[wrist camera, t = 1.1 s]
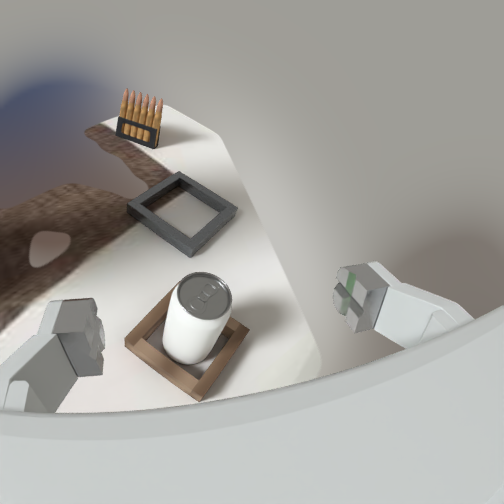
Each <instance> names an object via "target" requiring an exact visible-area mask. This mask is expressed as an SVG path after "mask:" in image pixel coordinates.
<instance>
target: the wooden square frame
mask: <svg viewBox="0 0 504 504" xmlns="http://www.w3.org/2000/svg"><path fill="white" fill-rule="evenodd" d="M179 283H180V281H179V282H178V283H177V284H176V285H175V286H174V287H173V289H172V290H171V291H170V292H169V293H168V294H167V295H166V296H165V297H164V298H163V299H162V300H161V301H160V302H159V303H158V304H157V305H156V306H155V307H154V308H153V309H152V310H151V311H150V312H149V313H148V314H147V315H146V316H145V317H144V318H143V319H142V320H141V321H140V323H139V324H138V325H137V326H136V327H135V328H134V329H133V330H132V331H131V332H130V333H129V334H128V335H127V336H126V337H125V338H124V339H125V347H126V348H128V349H129V350H130V351H131V352H132V353H134V354H135V355H136V356H137V357H139V358H140V359H141V360H142V361H144V362H145V363H146V364H148V365H149V366H150V367H151V368H153V369H154V370H155V371H157V372H158V373H159V374H161V375H162V376H163V377H165V378H166V379H167V380H169V381H170V382H171V383H173V384H174V385H175V386H177V387H178V388H180V389H181V390H182V391H184V392H185V393H187V394H188V395H190V396H191V397H193V398H194V399H195V400H197V401H198V402H200V400H201V399H202V398H203V397H204V395H205V394H206V392H207V391H208V390H209V388H210V387H211V385H212V384H213V383H214V381H215V380H216V378H217V377H218V375H219V374H220V373H221V371H222V370H223V368H224V367H225V365H226V364H227V362H228V361H229V360H230V358H231V357H232V355H233V354H234V352H235V351H236V349H237V348H238V346H239V345H240V343H241V342H242V341H243V339H244V338H245V336H246V335H247V333H248V332H249V330H250V329H248V328H247V327H245V326H244V325H242V324H241V323H239V322H238V321H236V320H235V319H233V318H232V317H229V319H228V321H227V323H226V325H225V327H224V328H223V330H222V332H221V334H223V335H224V336H226V337H227V338H229V340H228V341H227V343H226V344H225V346H224V347H223V348H222V350H221V351H220V353H219V354H218V355H217V357H216V358H215V359H214V361H213V362H212V364H211V365H210V366H209V368H208V369H207V370H206V372H205V373H204V375H203V376H202V377H201V379H200V380H198V379H196V378H195V377H193V376H192V375H191V374H189V373H188V372H186V371H185V370H184V369H182V368H181V367H179V366H178V365H177V364H175V363H174V362H173V361H171V360H170V359H169V358H167V357H166V356H165V355H163V354H162V353H161V352H159V351H158V350H157V349H155V348H154V347H153V346H152V345H150V344H149V343H148V342H146V340H147V339H148V338H149V337H150V335H151V334H152V333H153V332H154V331H155V330H156V329H157V328H158V327H159V326H160V324H161V323H162V322H163V321H164V320H165V319H166V318H167V313H168V308H169V304H170V299H171V296H172V293H173V291H174V289H175V287H176V286H177V285H178V284H179Z"/></svg>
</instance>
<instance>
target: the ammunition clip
mask: <svg viewBox="0 0 504 504" xmlns="http://www.w3.org/2000/svg"><path fill="white" fill-rule="evenodd" d="M134 103H135V91H133V92H132V94H131V96H130V100H129V105H128V89H126V90H125V93H124V96H123V101H122V104H121V110H120V116H119V117H118V123H117V129H116V136H119V137H121V138H124V139H127V140H130V141H133V142H135V143H138V144H141V145H144V146H146V147H149V148H152V149H155V148H156V147H157V146H158V141H159V133H160V123H161V118H162V108H163V100H162V99H160V101H159V103H158V106H157V110H156V113H155V103H156V98H155V97H153V99H152V101H151V104H150V108H149V111H148V103H149V97H148V94H147V95H146V97H145V99H144V102H143V106H142V110H141V103H142V94H141V92H140V93H139V95H138V97H137V101H136V105H135V108H134Z"/></svg>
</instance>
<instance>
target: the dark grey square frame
mask: <svg viewBox="0 0 504 504" xmlns="http://www.w3.org/2000/svg"><path fill="white" fill-rule="evenodd" d="M177 186H179V187H181V188H182V189H184V190H185V191H187V192H189V193H190V194H192V195H193V196H195V197H196V198H198V199H200V200H201V201H203V202H204V203H206V204H207V205H209V206H210V207H212V208H214V209H215V210H217V211H218V212H220V214H218V215H217V216H216V217H215V218H214V219H213V220H212V221H210V222H209V223H208V224H207V225H206V226H205V227H204V228H202V229H201V230H200V231H199V232H198V233H197V234H196V235H195V236H193V237H192V238H191V239H190V238H188V237H187V236H185V235H184V234H182V233H181V232H180V231H178V230H177V229H175V228H174V227H172V226H171V225H169V224H168V223H167V222H165V221H164V220H162V219H161V218H159V217H158V216H157V215H155V214H154V213H152V212H151V211H149V210H148V209H147V208H146V207H147V206H149V205H150V204H152V203H153V202H155V201H156V200H157V199H159V198H160V197H162V196H163V195H165V194H166V193H168V192H169V191H171V190H172V189H174V188H175V187H177ZM237 209H238V208H237V207H236V206H234V205H233V204H231V203H229V202H228V201H226V200H225V199H223V198H221V197H220V196H218V195H217V194H215V193H213V192H212V191H210V190H209V189H207V188H205V187H204V186H202V185H201V184H199V183H197V182H196V181H194V180H193V179H191V178H189V177H188V176H186V175H184V174H183V173H181V172H180V171H178V172H177V173H175V174H173V175H172V176H170V177H168V178H167V179H165V180H163V181H162V182H160V183H158V184H157V185H155V186H154V187H152V188H150V189H149V190H147V191H146V192H144V193H143V194H141V195H139V196H138V197H136V198H135V199H133V200H132V201H130V202H129V203H127V213H129V214H130V215H131V216H133V217H134V218H135V219H137V220H138V221H140V222H141V223H142V224H144V225H145V226H146V227H148V228H149V229H151V230H152V231H153V232H155V233H156V234H157V235H159V236H160V237H162V238H163V239H164V240H166V241H167V242H169V243H170V244H171V245H173V246H174V247H176V248H177V249H178V250H180V251H181V252H183V253H184V254H185V255H187V256H188V257H192V256H193V255H194V254H195V253H196V252H197V251H198V250H199V249H200V248H201V247H202V246H203V245H204V244H205V243H206V242H207V241H208V240H209V239H210V238H211V237H213V236H214V235H215V234H216V233H217V232H218V231H219V230H220V229H221V228H222V227H223V226H224V225H225V224H226V223H227V222H229V221H230V220H231V219H232V218H233V217H234V216H235V214H236V211H237Z"/></svg>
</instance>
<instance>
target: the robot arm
mask: <svg viewBox="0 0 504 504" xmlns="http://www.w3.org/2000/svg"><path fill="white" fill-rule="evenodd" d="M336 278H337V280H338V282H339V283H338V284H337V285H336V287H335V288H334V292H333V301H334V306H335V308H336V310H337V311H338V312H339V313H340V314H342V315H344V316H346V319H345V322H346V323H347V324H348V326H349V327H350V328H351V330H352V331H353V332H354V333H358V332H362V331H366V330H370V329H374V330H375V331H377V332H379V333H381V334H382V335H384V336H386V337H387V338H389V339H391V340H392V341H394V342H396V343H397V344H399V345H401V346H402V347H404V348H406V349H405V350H403V351H400V352H397V353H395V354H392V355H389V356H387V357H384V358H381V359H378V360H375V361H372V362H369V363H366V364H363V365H360V366H357V367H354V368H351V369H347V370H344V371H341V372H337V373H334V374H331V375H327V376H323V377H320V378H316V379H313V380H309V381H305V382H301V383H297V384H293V385H289V386H285V387H281V388H277V389H272V390H268V391H263V392H258V393H254V394H249V395H244V396H239V397H233V398H228V399H222V400H216V401H210V402H204V403H197V404H190V405H182V406H174V407H166V408H157V409H146V410H134V411H120V412H99V413H55V412H56V410H57V409H58V407H59V406H60V404H61V403H62V401H63V400H64V398H65V397H66V395H67V394H68V392H69V391H70V389H71V388H72V386H73V385H74V384H75V382H76V381H77V379H78V377H85V376H98V375H103V361H104V359H103V356H102V353H101V352H102V351H103V350H104V349H105V334H104V329H103V325H102V321H101V319H99V318H98V317H97V316H96V315H97V306H96V303H95V300H94V299H93V298H83V299H69V300H56V301H50V302H49V303H48V305H47V307H46V310H45V313H44V316H43V319H42V322H41V325H40V328H39V331H38V334H37V335H33V336H32V337H31V338H29V339H28V340H27V341H26V342H25V343H24V344H23V345H22V346H21V347H20V348H18V349H17V350H16V351H15V352H14V353H13V354H12V355H11V356H10V357H9V358H8V359H7V360H5V361H4V362H3V363H2V364H1V365H0V504H504V305H503V306H501V307H499V308H497V309H495V310H493V311H491V312H489V313H487V314H485V315H483V316H481V317H479V318H477V319H474V318H473V317H472V316H470V315H469V314H468V313H467V312H466V311H465V310H464V309H463V308H462V307H461V306H460V305H459V304H458V303H456V302H453V301H450V300H448V299H445V298H443V297H440V296H438V295H435V294H432V293H429V292H427V291H424V290H422V289H419V288H417V287H414V286H411V285H409V284H406V283H403V284H402V283H401V282H400V281H399V280H397V279H396V278H395V277H394V276H393V275H392V274H391V273H390V272H389V271H388V270H386V269H385V268H384V267H383V266H382V265H381V264H380V263H379V262H376V261H373V262H367V263H363V264H359V265H352V266H346V267H340V269H339V270H338V272H337V277H336Z"/></svg>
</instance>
